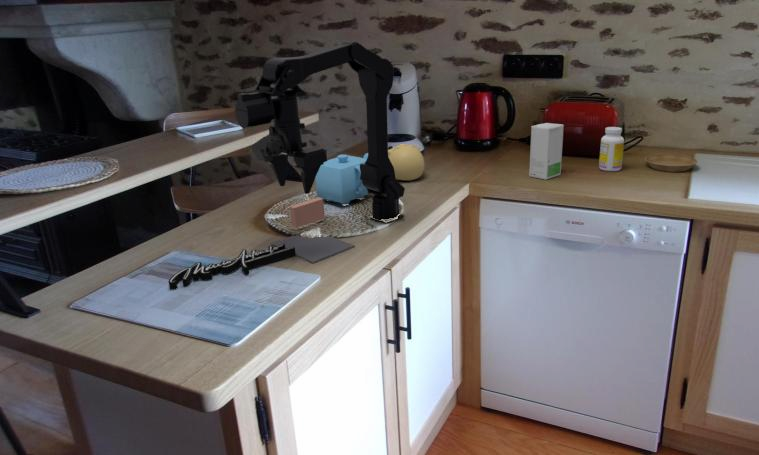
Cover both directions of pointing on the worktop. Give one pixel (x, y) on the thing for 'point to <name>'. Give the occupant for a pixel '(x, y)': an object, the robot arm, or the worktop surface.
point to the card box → (307, 212)
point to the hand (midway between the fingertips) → (294, 189)
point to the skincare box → (546, 150)
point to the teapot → (341, 179)
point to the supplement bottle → (611, 150)
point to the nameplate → (231, 265)
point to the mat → (315, 247)
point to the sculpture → (406, 161)
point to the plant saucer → (670, 162)
